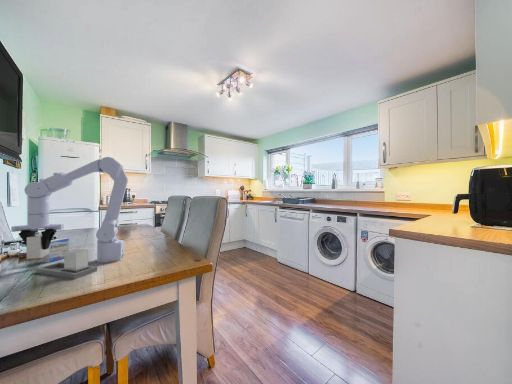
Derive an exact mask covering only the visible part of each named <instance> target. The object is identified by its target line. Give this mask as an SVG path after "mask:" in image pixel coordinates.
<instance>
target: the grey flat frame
mask: <svg viewBox="0 0 512 384" xmlns="http://www.w3.org/2000/svg"><path fill="white" fill-rule="evenodd" d="M97 271H98V266H93V265H88V269H86V270H83V271H80V272H77V273H72V272H66V271H64V261H59V262H55V263H54V262H53V263H51V264H48V265H44V266H41V267H40V266H39V267H37V268H35V273H36V274H41V275H47V276H52V277H53V276H54V277H59V278H66V279H73V280H77V279H79V278H82V277H85V276H87V275H91V274H93V273H96V272H97Z"/></svg>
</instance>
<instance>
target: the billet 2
mask: <svg viewBox="0 0 512 384" xmlns="http://www.w3.org/2000/svg"><path fill="white" fill-rule="evenodd" d="M63 262H64V271H66V272H72V273H77V272H80V271H83V270H86V269H88V266H89V249H84V248H74V249H69V251H65V253H64V259H63Z"/></svg>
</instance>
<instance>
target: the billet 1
mask: <svg viewBox="0 0 512 384" xmlns="http://www.w3.org/2000/svg"><path fill="white" fill-rule="evenodd" d="M48 254H49V248H48V249H45V250H43V237H42V233H39V234H38V233H37V234H36V233H35V235H33V236H29V237H27V247H26V259H25V260H31V259H41V258H42V257H44V256H46V255H48Z"/></svg>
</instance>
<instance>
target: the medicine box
mask: <svg viewBox="0 0 512 384" xmlns="http://www.w3.org/2000/svg"><path fill="white" fill-rule="evenodd" d="M69 245H70V238H68V237H61V238H55V239H52V240H51V242H50V245H49V254H48V255H46V256H44V257H42V258H40V262H41V263H54V262H56V261H60V260H64V253H65V251H69V250H70V246H69Z"/></svg>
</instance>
